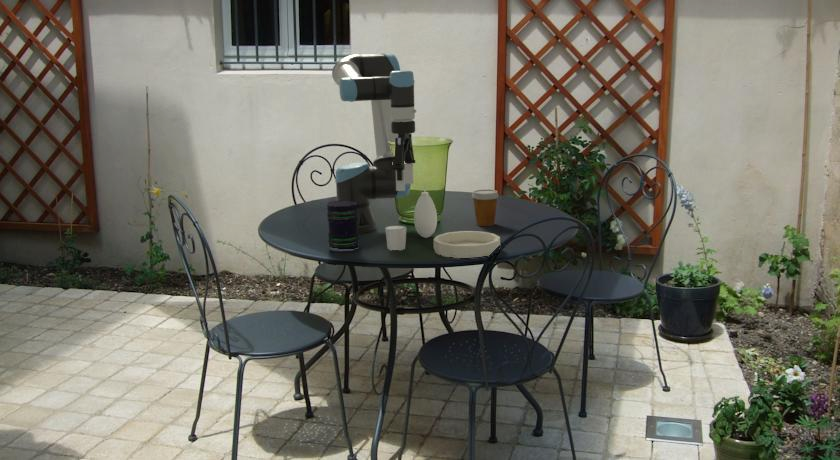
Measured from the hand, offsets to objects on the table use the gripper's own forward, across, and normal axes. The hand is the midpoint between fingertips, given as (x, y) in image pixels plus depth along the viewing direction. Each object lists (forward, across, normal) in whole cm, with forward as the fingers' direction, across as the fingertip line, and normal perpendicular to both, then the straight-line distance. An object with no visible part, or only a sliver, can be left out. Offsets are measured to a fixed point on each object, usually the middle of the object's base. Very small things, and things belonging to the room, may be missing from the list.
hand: (405, 187), depth 283 cm
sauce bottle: (+20, +14, -4) cm, 24 cm away
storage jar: (+20, -5, +20) cm, 28 cm away
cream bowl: (+20, -4, -20) cm, 28 cm away
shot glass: (+20, -3, +3) cm, 20 cm away
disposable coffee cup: (+20, +35, -22) cm, 45 cm away
